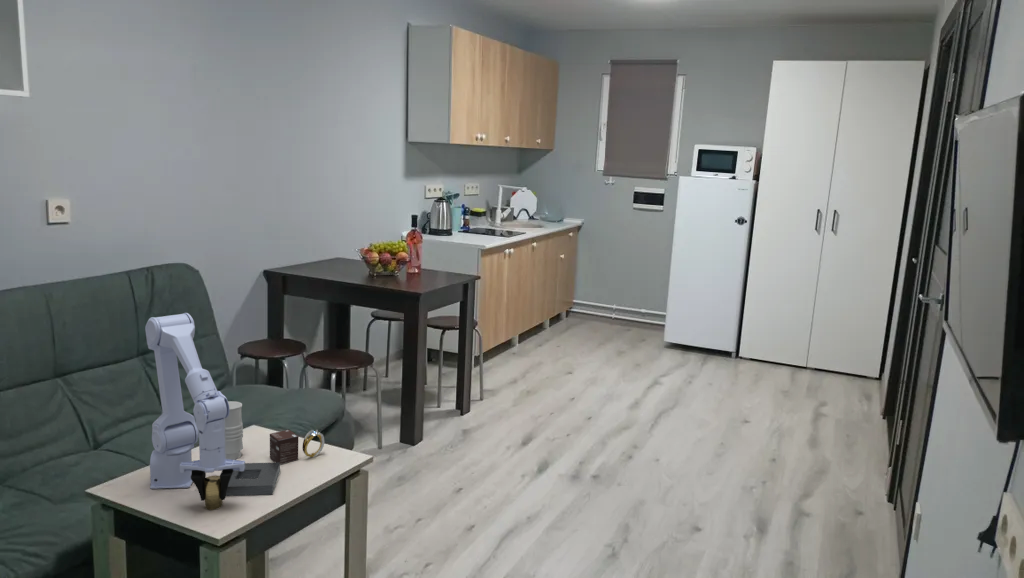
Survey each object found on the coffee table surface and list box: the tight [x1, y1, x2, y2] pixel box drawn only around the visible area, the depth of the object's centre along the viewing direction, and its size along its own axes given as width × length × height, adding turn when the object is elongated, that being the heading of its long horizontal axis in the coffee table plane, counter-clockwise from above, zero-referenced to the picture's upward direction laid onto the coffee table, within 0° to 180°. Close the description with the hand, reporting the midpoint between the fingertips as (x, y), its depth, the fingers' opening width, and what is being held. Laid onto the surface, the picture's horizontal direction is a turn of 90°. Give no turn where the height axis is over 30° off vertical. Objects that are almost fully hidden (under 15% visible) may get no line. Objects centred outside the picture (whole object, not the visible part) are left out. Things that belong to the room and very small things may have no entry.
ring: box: [302, 429, 325, 458], centre depth 205 cm, size 7×3×8 cm, turn 140°
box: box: [269, 429, 300, 465], centre depth 202 cm, size 6×6×7 cm
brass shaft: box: [204, 474, 224, 511], centre depth 174 cm, size 4×4×7 cm
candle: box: [224, 400, 244, 460], centre depth 202 cm, size 7×7×15 cm
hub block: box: [219, 461, 281, 497], centre depth 187 cm, size 14×14×2 cm
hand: (213, 498), depth 174 cm, fingers closed on brass shaft, 4 cm apart
